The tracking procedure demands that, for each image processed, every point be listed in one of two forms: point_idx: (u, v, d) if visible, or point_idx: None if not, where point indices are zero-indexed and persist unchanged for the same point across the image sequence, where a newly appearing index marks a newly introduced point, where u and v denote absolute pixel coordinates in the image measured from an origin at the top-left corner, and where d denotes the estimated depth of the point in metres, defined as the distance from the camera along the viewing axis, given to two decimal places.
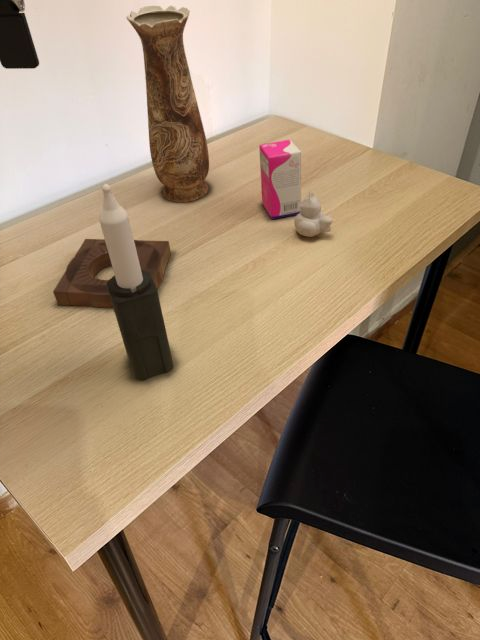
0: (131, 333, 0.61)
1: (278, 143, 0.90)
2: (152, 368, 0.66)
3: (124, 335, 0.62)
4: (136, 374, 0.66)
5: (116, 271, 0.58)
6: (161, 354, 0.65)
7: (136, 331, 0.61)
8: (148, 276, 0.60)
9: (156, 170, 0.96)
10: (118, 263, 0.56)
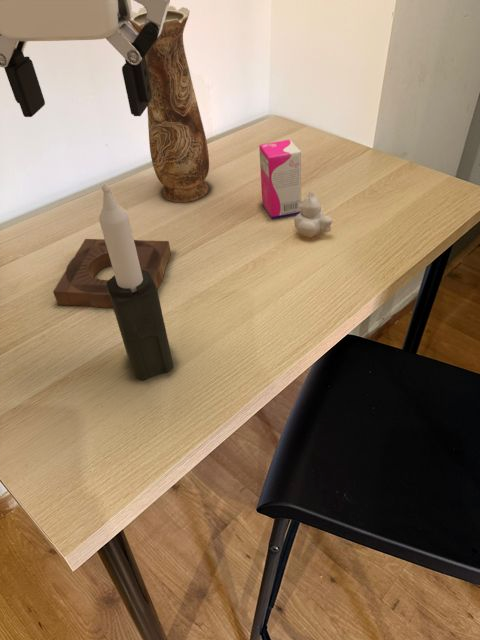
0: (131, 333, 0.61)
1: (278, 143, 0.90)
2: (152, 368, 0.66)
3: (124, 335, 0.62)
4: (136, 374, 0.66)
5: (116, 272, 0.58)
6: (161, 354, 0.65)
7: (136, 331, 0.61)
8: (148, 276, 0.60)
9: (156, 170, 0.96)
10: (118, 263, 0.56)
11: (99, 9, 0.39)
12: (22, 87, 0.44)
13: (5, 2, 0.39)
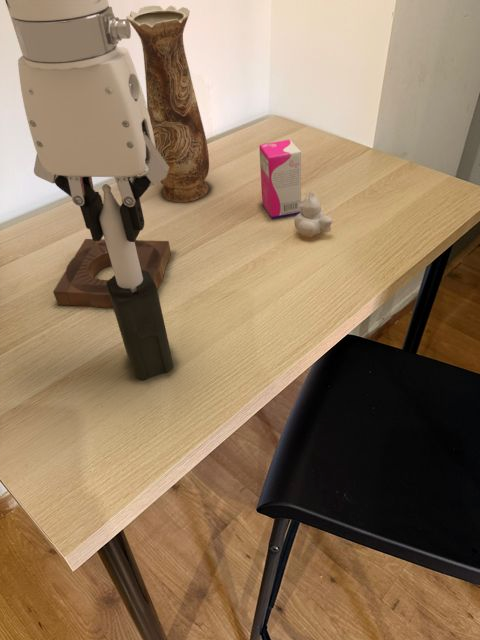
0: (131, 333, 0.61)
1: (278, 143, 0.90)
2: (152, 368, 0.66)
3: (124, 335, 0.62)
4: (136, 374, 0.66)
5: (116, 272, 0.58)
6: (161, 354, 0.65)
7: (136, 331, 0.61)
8: (148, 276, 0.60)
9: None
10: (118, 263, 0.56)
11: (130, 158, 0.47)
12: (94, 220, 0.53)
13: (52, 150, 0.47)
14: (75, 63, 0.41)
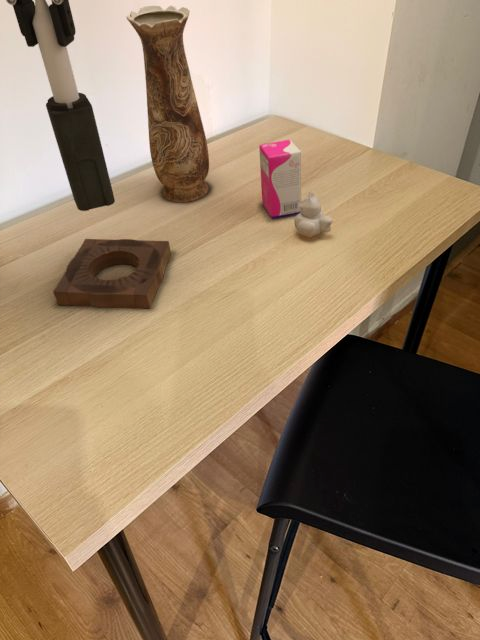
0: (70, 153, 0.66)
1: (278, 143, 0.90)
2: (93, 198, 0.71)
3: (63, 156, 0.66)
4: (78, 204, 0.71)
5: (51, 84, 0.62)
6: (100, 182, 0.70)
7: (74, 151, 0.66)
8: (84, 96, 0.65)
9: (156, 170, 0.96)
10: (52, 73, 0.61)
11: None
12: (26, 21, 0.57)
13: None
14: None
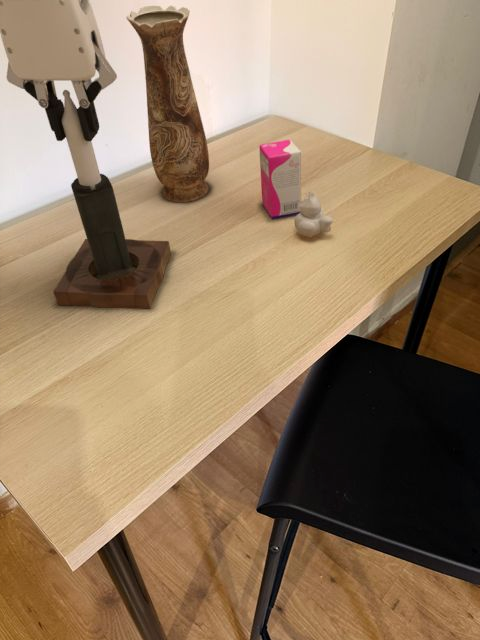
0: (92, 227, 0.73)
1: (278, 143, 0.90)
2: (112, 264, 0.78)
3: (86, 229, 0.74)
4: (98, 269, 0.78)
5: (77, 170, 0.69)
6: (119, 250, 0.77)
7: (96, 226, 0.73)
8: (105, 178, 0.72)
9: (156, 170, 0.96)
10: (78, 161, 0.68)
11: (82, 61, 0.59)
12: (56, 121, 0.65)
13: (20, 56, 0.59)
14: None
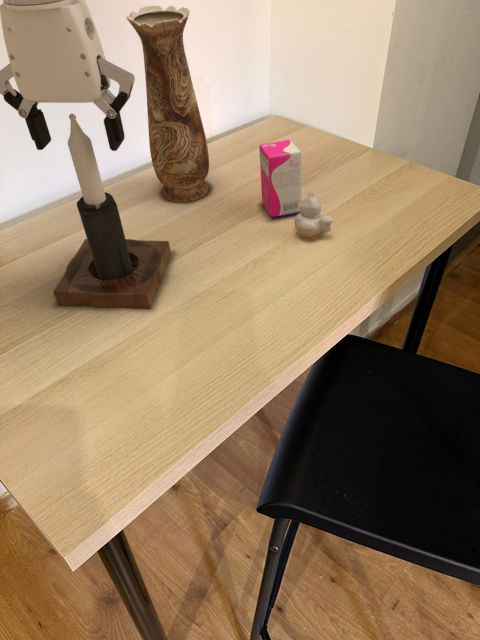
0: (97, 244, 0.75)
1: (278, 143, 0.90)
2: None
3: (91, 246, 0.76)
4: None
5: (82, 190, 0.71)
6: (123, 266, 0.79)
7: (101, 243, 0.75)
8: (110, 196, 0.74)
9: (156, 170, 0.96)
10: (84, 182, 0.70)
11: (88, 85, 0.61)
12: (36, 131, 0.66)
13: (27, 79, 0.61)
14: (42, 5, 0.54)
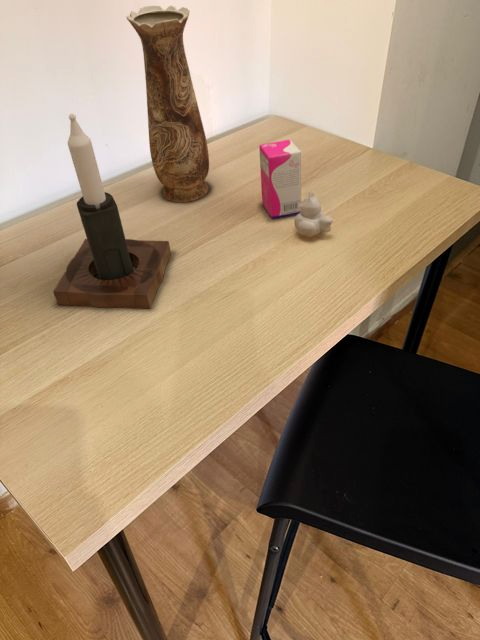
0: (97, 244, 0.75)
1: (278, 143, 0.90)
2: None
3: (91, 246, 0.76)
4: None
5: (82, 190, 0.71)
6: (123, 266, 0.79)
7: (101, 243, 0.75)
8: (110, 196, 0.74)
9: (156, 170, 0.96)
10: (84, 182, 0.70)
11: None
12: None
13: None
14: None
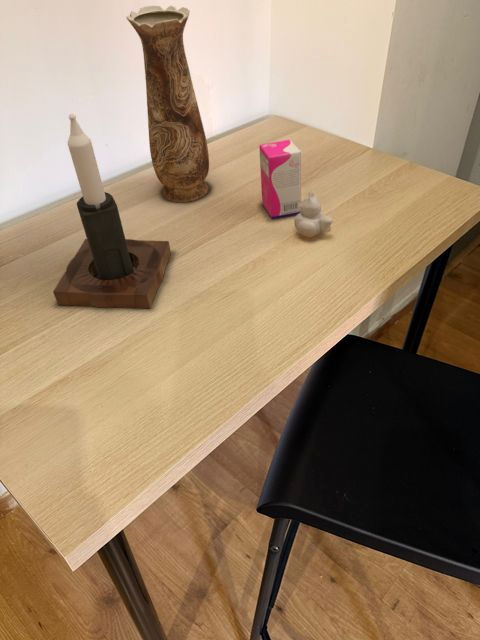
0: (97, 244, 0.75)
1: (278, 143, 0.90)
2: None
3: (91, 246, 0.76)
4: None
5: (82, 190, 0.71)
6: (123, 266, 0.79)
7: (101, 243, 0.75)
8: (110, 196, 0.74)
9: (156, 170, 0.96)
10: (84, 182, 0.70)
11: None
12: None
13: None
14: None
